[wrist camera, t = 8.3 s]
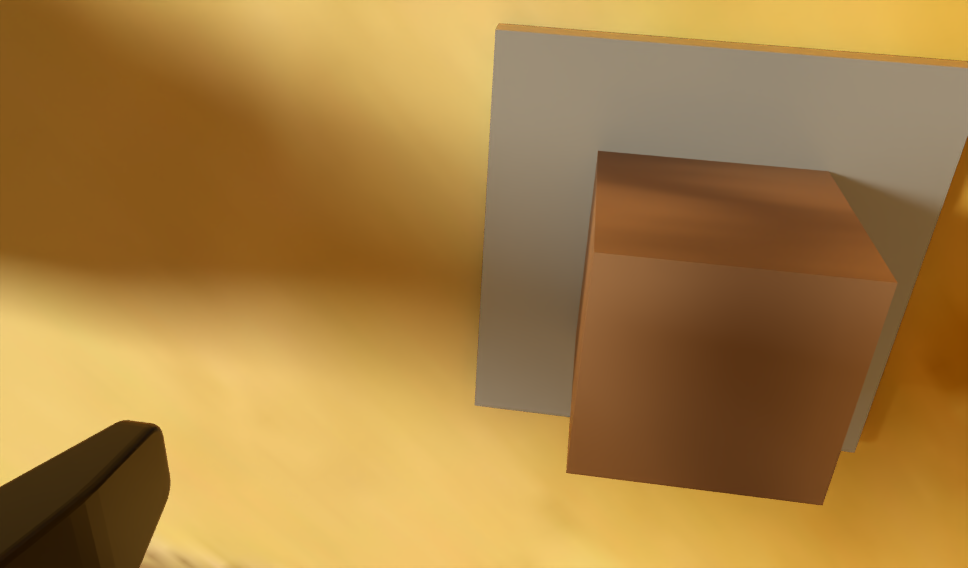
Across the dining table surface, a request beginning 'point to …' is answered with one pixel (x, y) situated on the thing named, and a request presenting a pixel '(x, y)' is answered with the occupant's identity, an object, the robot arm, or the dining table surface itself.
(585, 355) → the walnut cube
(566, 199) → the coaster
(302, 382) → the dining table surface
